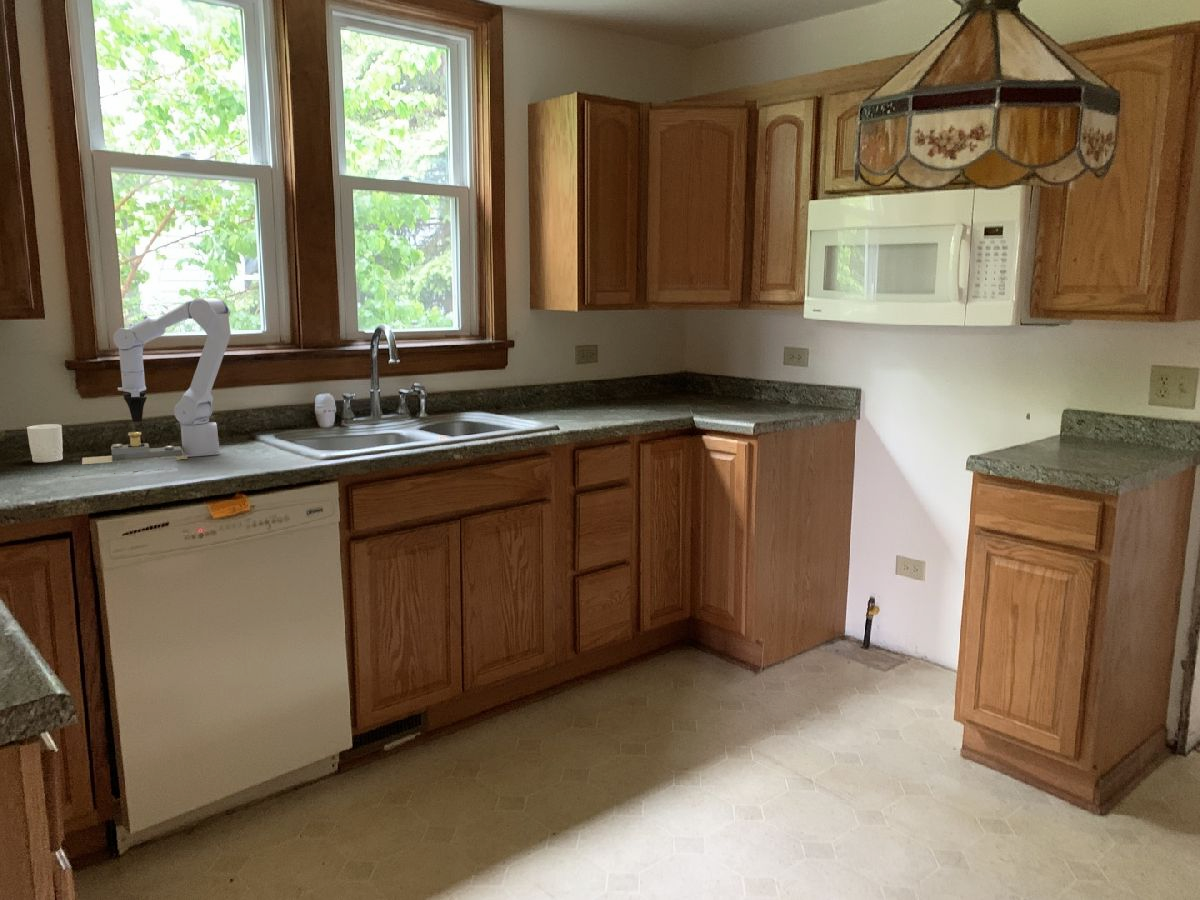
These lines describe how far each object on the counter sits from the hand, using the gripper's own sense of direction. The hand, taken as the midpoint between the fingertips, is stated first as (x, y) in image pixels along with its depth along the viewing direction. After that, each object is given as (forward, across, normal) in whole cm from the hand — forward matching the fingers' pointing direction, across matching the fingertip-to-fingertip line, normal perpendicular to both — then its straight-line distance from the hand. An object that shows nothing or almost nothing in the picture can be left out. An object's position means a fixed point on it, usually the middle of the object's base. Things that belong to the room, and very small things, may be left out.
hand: (136, 419), depth 254 cm
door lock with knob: (+9, +12, -1) cm, 15 cm away
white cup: (+10, +6, -22) cm, 25 cm away
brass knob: (+8, +12, -1) cm, 15 cm away
